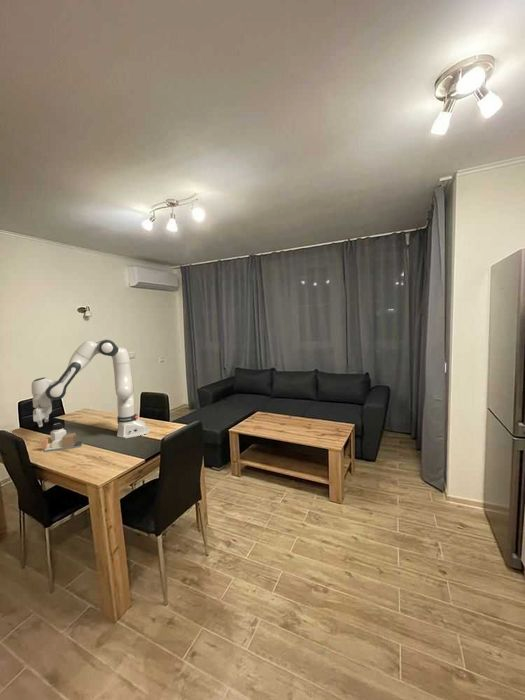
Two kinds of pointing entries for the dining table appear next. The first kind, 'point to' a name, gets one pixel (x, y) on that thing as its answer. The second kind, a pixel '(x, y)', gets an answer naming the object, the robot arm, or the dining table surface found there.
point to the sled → (54, 444)
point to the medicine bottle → (57, 432)
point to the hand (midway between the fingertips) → (43, 424)
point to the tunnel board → (67, 443)
